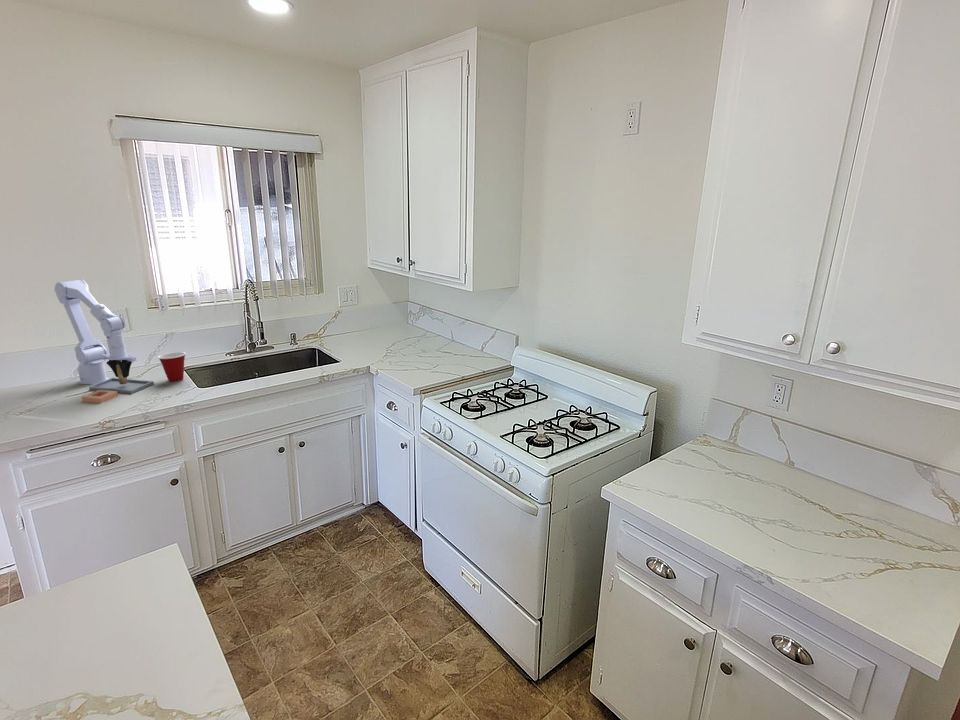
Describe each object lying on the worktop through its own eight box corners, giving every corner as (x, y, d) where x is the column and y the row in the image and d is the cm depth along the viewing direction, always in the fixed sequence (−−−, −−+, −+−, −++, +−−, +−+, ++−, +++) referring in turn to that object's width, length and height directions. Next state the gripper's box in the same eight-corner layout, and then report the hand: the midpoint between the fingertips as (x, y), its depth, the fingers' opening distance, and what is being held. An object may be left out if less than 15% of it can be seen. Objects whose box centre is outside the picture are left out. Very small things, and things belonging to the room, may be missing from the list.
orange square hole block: (82, 402, 206) (81, 396, 205) (100, 395, 214) (99, 389, 213) (101, 404, 205) (99, 398, 204) (118, 396, 213) (117, 391, 212)
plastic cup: (183, 374, 240) (179, 349, 237) (193, 379, 234) (189, 354, 230) (157, 380, 232) (153, 354, 229) (167, 385, 226) (163, 359, 222)
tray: (89, 390, 218) (88, 386, 217) (113, 381, 229) (112, 377, 229) (132, 395, 215) (131, 390, 214) (154, 385, 226) (153, 381, 226)
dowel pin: (117, 384, 220) (114, 366, 217) (123, 381, 223) (119, 363, 220) (123, 384, 220) (120, 366, 217) (129, 382, 222) (126, 364, 220)
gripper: (92, 347, 213) (99, 378, 218) (124, 349, 211) (130, 381, 215) (107, 342, 220) (113, 372, 224) (137, 344, 218) (143, 375, 222)
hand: (122, 376), depth 220 cm, fingers closed on dowel pin, 3 cm apart
